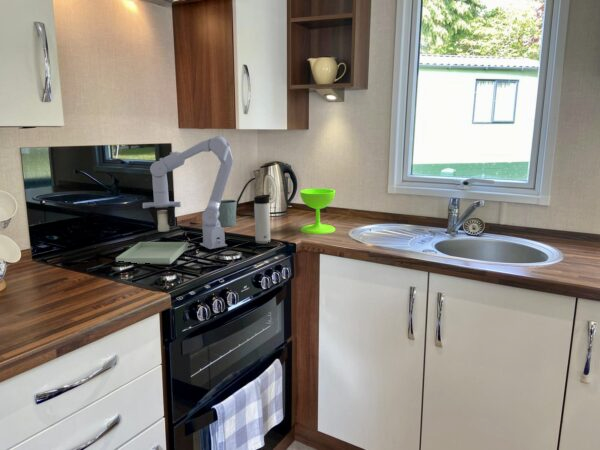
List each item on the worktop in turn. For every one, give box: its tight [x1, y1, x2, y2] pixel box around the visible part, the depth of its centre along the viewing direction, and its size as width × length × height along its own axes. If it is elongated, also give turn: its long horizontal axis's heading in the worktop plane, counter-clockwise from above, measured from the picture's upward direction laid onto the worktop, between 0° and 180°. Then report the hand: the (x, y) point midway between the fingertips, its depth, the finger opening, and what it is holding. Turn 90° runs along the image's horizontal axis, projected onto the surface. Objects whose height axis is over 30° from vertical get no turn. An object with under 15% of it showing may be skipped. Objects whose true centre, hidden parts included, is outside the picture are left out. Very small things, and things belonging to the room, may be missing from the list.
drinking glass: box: [218, 199, 238, 228], centre depth 229 cm, size 10×10×12 cm
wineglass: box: [299, 188, 336, 235], centre depth 218 cm, size 16×16×18 cm
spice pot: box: [157, 209, 170, 233], centre depth 192 cm, size 5×5×8 cm
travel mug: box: [253, 194, 271, 245], centre depth 198 cm, size 6×7×20 cm
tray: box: [115, 241, 189, 265], centre depth 183 cm, size 22×20×2 cm
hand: (163, 225), depth 193 cm, fingers closed on spice pot, 4 cm apart
